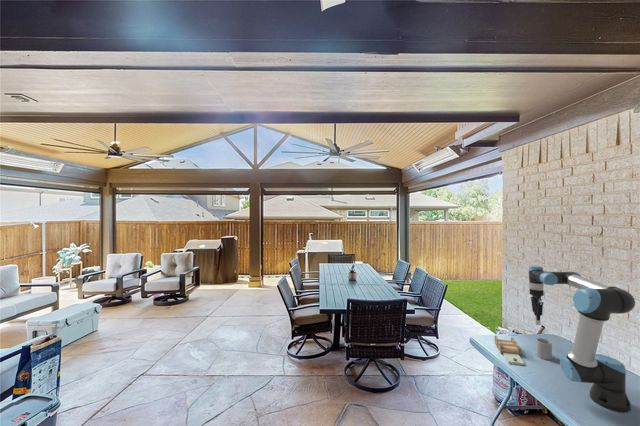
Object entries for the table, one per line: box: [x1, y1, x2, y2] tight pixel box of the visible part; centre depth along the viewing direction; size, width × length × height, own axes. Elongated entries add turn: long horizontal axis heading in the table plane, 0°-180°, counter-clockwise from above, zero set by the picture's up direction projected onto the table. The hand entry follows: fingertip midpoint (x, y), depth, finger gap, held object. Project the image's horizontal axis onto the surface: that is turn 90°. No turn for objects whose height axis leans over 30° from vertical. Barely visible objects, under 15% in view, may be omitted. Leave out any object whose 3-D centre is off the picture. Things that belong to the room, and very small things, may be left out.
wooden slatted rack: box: [494, 335, 522, 358], centre depth 202 cm, size 16×12×6 cm
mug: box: [535, 337, 553, 361], centre depth 193 cm, size 12×8×11 cm
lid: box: [502, 352, 526, 367], centre depth 189 cm, size 12×9×3 cm
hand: (537, 324), depth 185 cm, fingers closed
